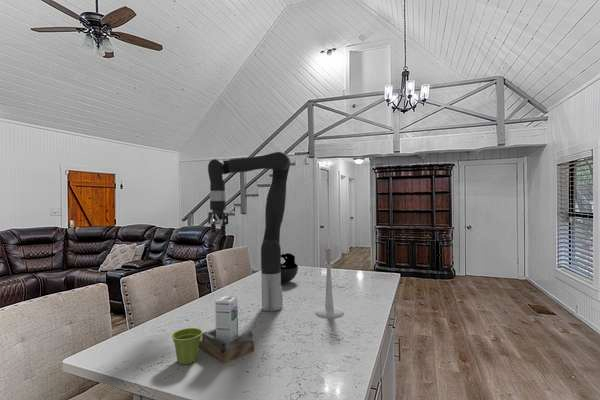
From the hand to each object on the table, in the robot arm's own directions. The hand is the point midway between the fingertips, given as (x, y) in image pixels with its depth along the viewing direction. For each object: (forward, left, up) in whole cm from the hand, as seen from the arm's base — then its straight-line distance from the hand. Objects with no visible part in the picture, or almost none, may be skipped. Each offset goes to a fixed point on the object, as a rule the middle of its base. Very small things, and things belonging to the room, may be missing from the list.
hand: (218, 232), depth 156 cm
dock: (+24, +40, -36) cm, 59 cm away
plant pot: (+37, +39, -36) cm, 65 cm away
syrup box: (+24, +43, -33) cm, 59 cm away
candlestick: (-28, +47, -36) cm, 66 cm away
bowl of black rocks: (-52, -9, -36) cm, 64 cm away
